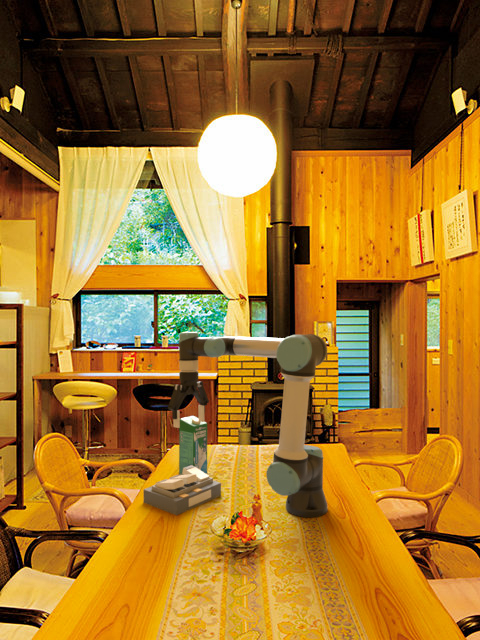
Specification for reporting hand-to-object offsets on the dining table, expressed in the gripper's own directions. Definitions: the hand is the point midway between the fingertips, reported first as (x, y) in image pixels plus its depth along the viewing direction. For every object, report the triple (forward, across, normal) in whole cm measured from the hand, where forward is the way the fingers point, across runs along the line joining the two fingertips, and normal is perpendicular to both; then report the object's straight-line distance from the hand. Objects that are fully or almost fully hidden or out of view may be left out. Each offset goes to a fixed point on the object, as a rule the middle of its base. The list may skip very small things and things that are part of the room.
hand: (189, 424), depth 186 cm
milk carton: (+28, -19, -17) cm, 38 cm away
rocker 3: (+21, -2, +1) cm, 21 cm away
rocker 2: (+21, +5, +2) cm, 22 cm away
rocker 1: (+21, +12, +2) cm, 25 cm away
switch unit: (+28, +5, +1) cm, 28 cm away
